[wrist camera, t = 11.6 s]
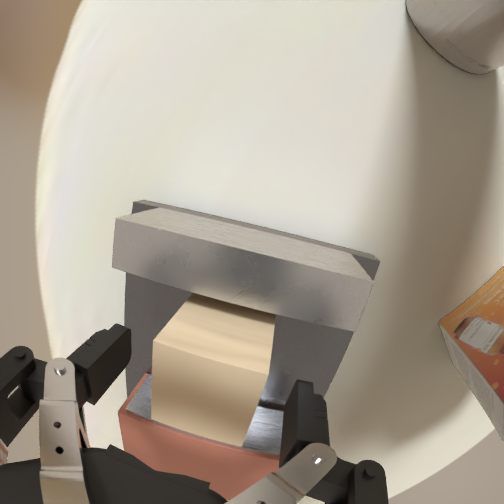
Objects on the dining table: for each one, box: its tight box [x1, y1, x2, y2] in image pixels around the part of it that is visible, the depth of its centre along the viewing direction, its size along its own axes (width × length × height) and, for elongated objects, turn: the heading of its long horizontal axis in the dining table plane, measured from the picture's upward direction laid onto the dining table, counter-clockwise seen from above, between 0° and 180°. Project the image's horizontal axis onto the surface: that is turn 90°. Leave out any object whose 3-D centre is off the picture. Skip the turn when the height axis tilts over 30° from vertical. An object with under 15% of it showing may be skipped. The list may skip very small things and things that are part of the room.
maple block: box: [151, 293, 276, 447], centre depth 14 cm, size 5×4×8 cm
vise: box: [112, 200, 380, 411], centre depth 18 cm, size 24×16×6 cm
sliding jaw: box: [118, 373, 284, 500], centre depth 19 cm, size 9×12×5 cm
